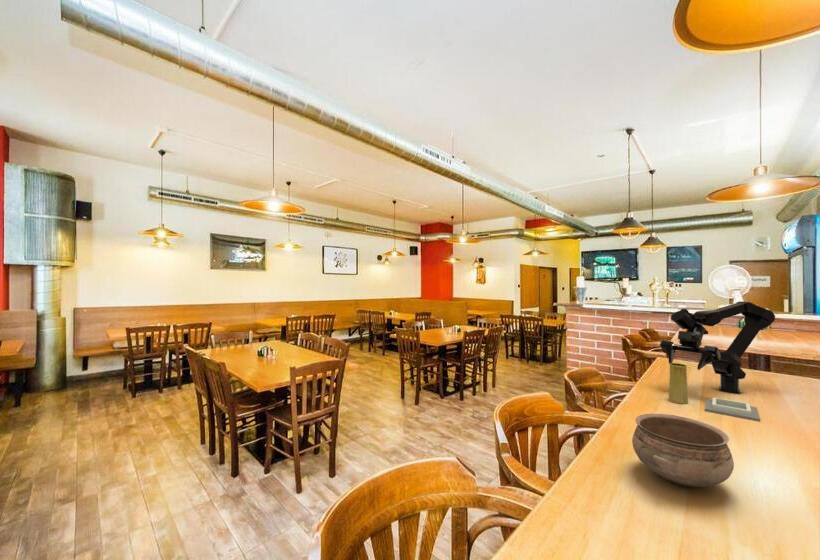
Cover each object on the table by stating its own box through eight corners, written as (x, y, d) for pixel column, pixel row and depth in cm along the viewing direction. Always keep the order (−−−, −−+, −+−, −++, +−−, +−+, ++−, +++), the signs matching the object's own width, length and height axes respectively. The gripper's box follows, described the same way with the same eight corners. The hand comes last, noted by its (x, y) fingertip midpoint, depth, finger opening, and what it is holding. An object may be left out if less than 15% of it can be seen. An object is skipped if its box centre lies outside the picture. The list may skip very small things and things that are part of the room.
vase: (681, 398, 137) (681, 362, 137) (692, 404, 131) (692, 366, 131) (664, 398, 138) (664, 362, 138) (674, 404, 132) (674, 366, 132)
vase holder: (706, 400, 135) (706, 394, 135) (756, 409, 126) (756, 403, 126) (704, 411, 125) (704, 404, 125) (760, 421, 115) (760, 414, 115)
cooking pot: (654, 448, 98) (654, 404, 98) (747, 479, 82) (746, 428, 82) (612, 478, 83) (612, 427, 83) (715, 523, 68) (715, 460, 68)
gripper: (661, 321, 149) (650, 350, 142) (718, 326, 133) (708, 358, 127) (668, 338, 153) (658, 366, 147) (724, 344, 138) (715, 376, 132)
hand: (683, 366), depth 138 cm, fingers open, 9 cm apart
